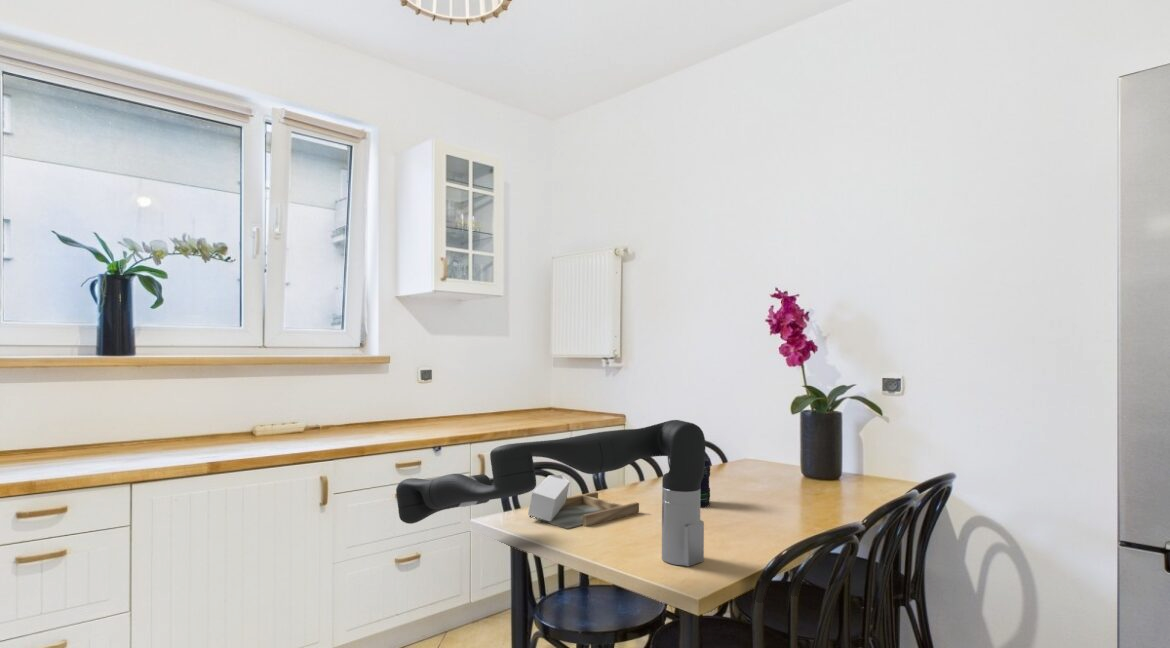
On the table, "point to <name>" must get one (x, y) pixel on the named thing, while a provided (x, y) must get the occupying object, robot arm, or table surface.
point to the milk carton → (549, 497)
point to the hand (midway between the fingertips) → (522, 481)
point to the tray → (589, 511)
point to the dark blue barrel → (705, 485)
